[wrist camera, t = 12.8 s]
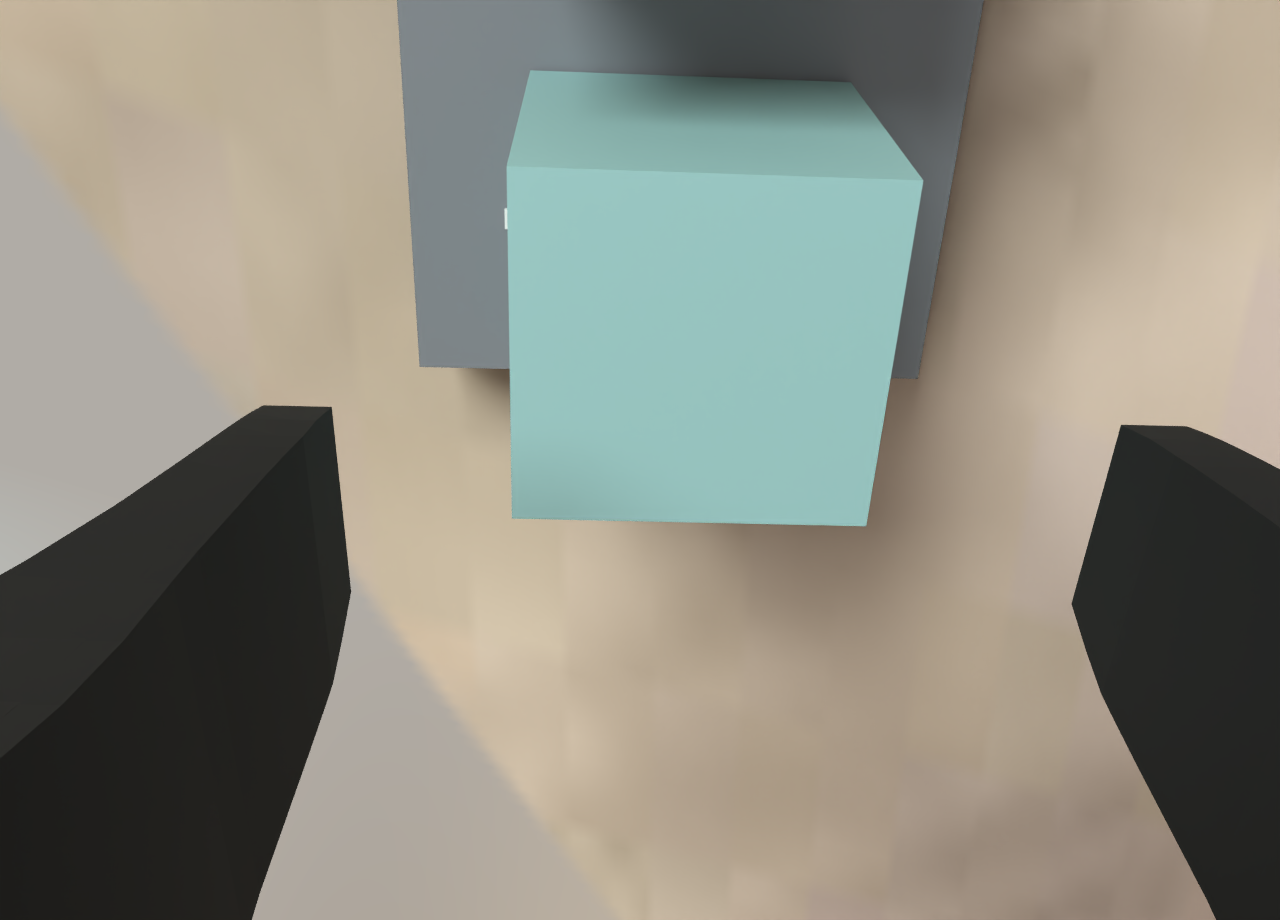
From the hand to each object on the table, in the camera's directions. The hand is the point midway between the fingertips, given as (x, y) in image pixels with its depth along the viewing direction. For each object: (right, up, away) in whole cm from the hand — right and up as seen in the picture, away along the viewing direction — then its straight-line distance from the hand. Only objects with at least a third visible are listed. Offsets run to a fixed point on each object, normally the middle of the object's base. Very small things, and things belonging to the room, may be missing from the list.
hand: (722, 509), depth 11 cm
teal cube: (0, +4, +7) cm, 8 cm away
